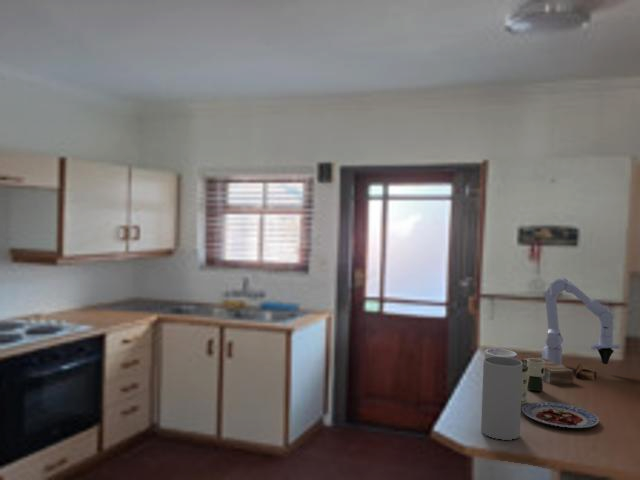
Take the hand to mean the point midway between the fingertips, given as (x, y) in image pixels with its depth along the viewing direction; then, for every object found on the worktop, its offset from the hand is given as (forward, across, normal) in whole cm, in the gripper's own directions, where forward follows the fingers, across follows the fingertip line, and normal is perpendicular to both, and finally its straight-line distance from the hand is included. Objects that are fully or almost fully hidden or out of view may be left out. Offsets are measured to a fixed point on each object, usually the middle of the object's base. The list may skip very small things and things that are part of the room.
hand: (604, 363), depth 270 cm
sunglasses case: (+5, -11, -1) cm, 12 cm away
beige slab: (+5, -32, 0) cm, 32 cm away
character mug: (+5, -51, -18) cm, 54 cm away
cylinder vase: (+5, -93, -59) cm, 110 cm away
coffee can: (+5, -68, -28) cm, 73 cm away
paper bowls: (+5, -46, +17) cm, 49 cm away
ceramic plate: (+5, -63, -50) cm, 80 cm away
